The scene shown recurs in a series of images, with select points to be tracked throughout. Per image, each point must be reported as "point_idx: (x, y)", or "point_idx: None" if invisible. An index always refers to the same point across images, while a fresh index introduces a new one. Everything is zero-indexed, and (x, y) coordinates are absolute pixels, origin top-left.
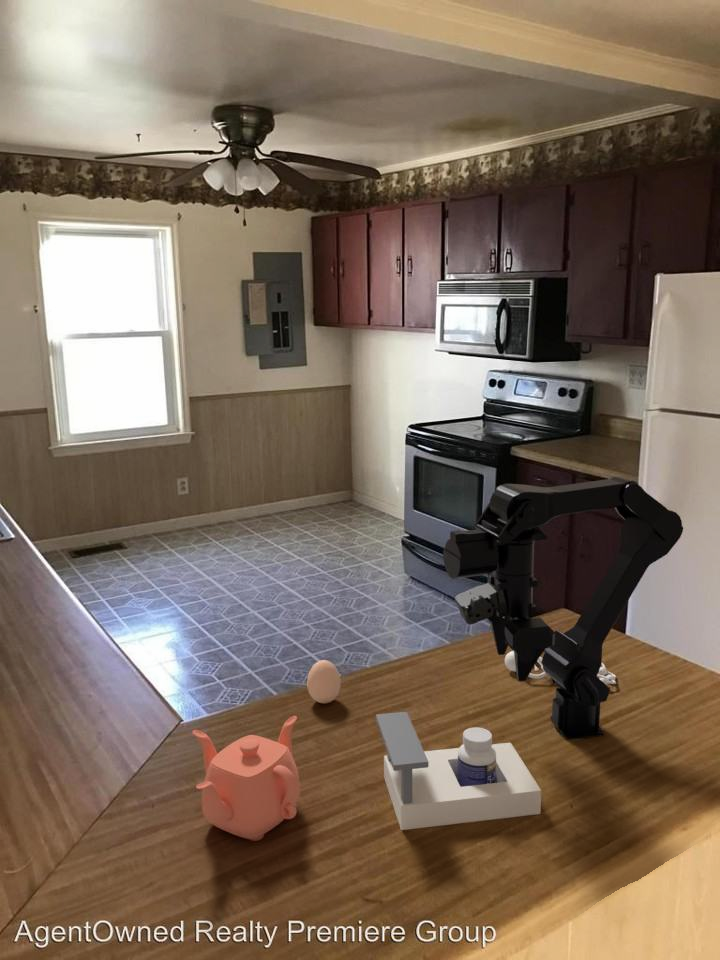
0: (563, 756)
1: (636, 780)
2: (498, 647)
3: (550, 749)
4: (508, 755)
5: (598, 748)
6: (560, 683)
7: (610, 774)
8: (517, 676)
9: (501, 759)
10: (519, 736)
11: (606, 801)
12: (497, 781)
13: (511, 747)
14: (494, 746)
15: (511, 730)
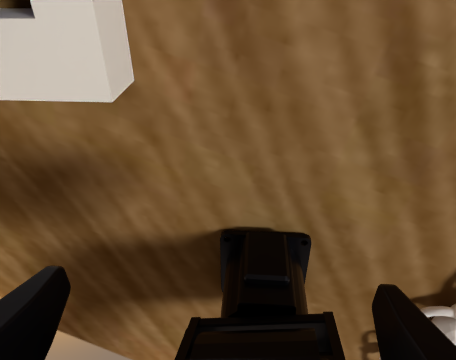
0: (160, 201)
1: (80, 271)
2: (393, 324)
3: (189, 189)
4: (40, 71)
5: (182, 263)
6: (217, 340)
7: (97, 247)
8: (39, 280)
9: (13, 41)
10: (256, 147)
11: (11, 209)
12: (16, 10)
13: (85, 95)
14: (87, 44)
15: (289, 139)
